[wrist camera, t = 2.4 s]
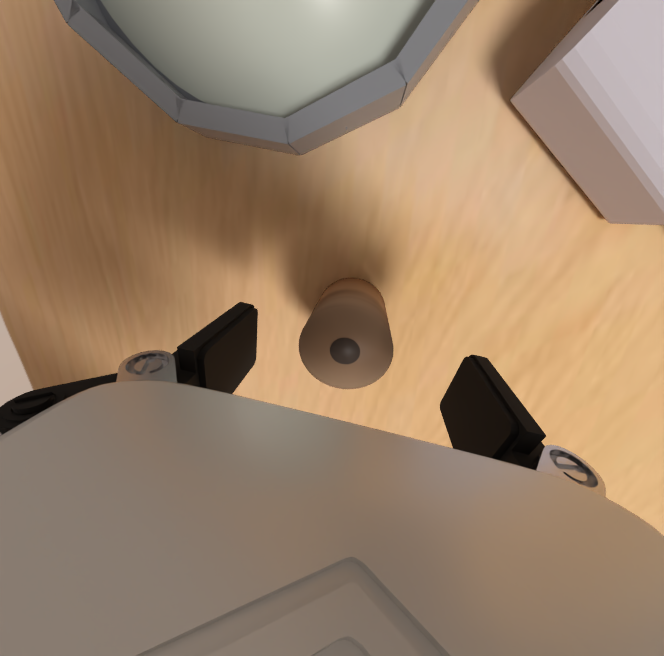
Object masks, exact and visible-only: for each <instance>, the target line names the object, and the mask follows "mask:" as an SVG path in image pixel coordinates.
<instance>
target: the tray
mask: <svg viewBox="0 0 664 656" xmlns="http://www.w3.org/2000/svg"><path fill="white" fill-rule="evenodd" d="M54 1H55V3H56V5H57V7H58V9H59V10H60V12H61V14H62V16H63V18H64V20H65V21H66V23H68V25H69V26H70V27H71V28H72V29H73V30H74V31H75V32H77V33H78V34H79V35H80V36H81V37H82V38H83V39H84V40H85V41H87V42H88V43H89V44H90V45H91V46H92V47H93V48H94V49H95V50H97V51H98V52H99V53H100V54H101V55H102V56H103V57H104V58H105V59H107V60H108V61H109V62H110V63H111V64H112V65H113V66H114V67H116V68H117V69H118V70H119V71H120V72H121V73H122V74H123V75H124V76H126V77H127V78H128V79H129V80H130V81H131V82H132V83H133V84H134V85H136V86H137V87H138V88H139V89H140V90H141V91H142V92H143V93H144V94H146V95H147V96H148V97H149V98H150V99H151V100H152V101H153V102H154V103H156V104H157V105H158V106H159V107H160V108H161V109H162V110H163V111H164V112H166V113H167V114H168V115H169V116H170V117H171V118H172V119H173V120H175V121H176V122H177V123H179V124H181V125H183V126H185V127H187V128H189V129H191V130H193V131H195V132H197V133H199V134H201V135H203V136H205V137H208V138H213V139H218V140H223V141H228V142H234V143H239V144H244V145H249V146H254V147H259V148H264V149H270V150H275V151H280V152H285V153H290V154H295V155H300V154H301V155H303V154H305V153H307V152H309V151H311V150H313V149H315V148H317V147H319V146H321V145H323V144H325V143H327V142H330V141H332V140H334V139H336V138H338V137H340V136H342V135H344V134H346V133H348V132H350V131H352V130H354V129H357V128H359V127H361V126H363V125H365V124H367V123H369V122H371V121H373V120H375V119H377V118H379V117H381V116H383V115H386V114H388V113H390V112H392V111H394V110H396V109H398V108H399V106H400V107H401V105H402V104H403V103H404V101H405V100H406V99H407V97H408V96H409V95H410V93H411V92H412V91H413V89H414V88H415V86H416V85H417V84H418V82H419V81H420V80H421V78H422V77H423V76H424V74H425V73H426V72H427V70H428V69H429V68H430V66H431V65H432V63H433V62H434V61H435V59H436V58H437V57H438V55H439V54H440V53H441V51H442V50H443V49H444V47H445V46H446V45H447V43H448V42H449V40H450V39H451V38H452V36H453V35H454V34H455V32H456V31H457V30H458V28H459V27H460V26H461V24H462V23H463V22H464V20H465V19H466V18H467V16H468V15H469V13H470V12H471V11H472V9H473V8H474V7H475V5H476V4H477V3H478V1H479V0H54Z"/></svg>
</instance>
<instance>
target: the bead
mask: <svg viewBox="0 0 664 656" xmlns="http://www.w3.org/2000/svg"><path fill="white" fill-rule="evenodd" d="M299 352H300V357H301V359H302V362H303V364H304V365H305V367H306V368H307V370H308V371H309V372H310V373H311V374H312V375H313V376H314V377H315V378H316V379H318V380H319V381H321V382H323V383H325V384H327V385H329V386H332V387H336V388H341V389H356V388H361V387H365V386H367V385H370V384H372V383H374V382H375V381H377V380H378V379H379V378H381V377H382V376H383V375H384V373H385V372H386V371H387V369H388V368H389V366H390V364H391V361H392V358H393V342H392V337H391V333H390V328H389V323H388V318H387V313H386V308H385V303H384V300H383V297H382V295H381V294H380V292H379V291H378V290H377V289H376V287H374V286H373V285H372V284H370V283H369V282H367V281H365V280H362V279H357V278H346V279H341V280H339V281H336V282H334V283H333V284H331V285H330V286H329V287H328V288H327V289H326V290H325V291H324V293H323V294H322V296H321V298H320V300H319V302H318V303H317V305H316V307H315V309H314V310H313V312H312V314H311V316H310V318H309V319H308V321H307V323H306V325H305V327H304V328H303V330H302V333H301V335H300V339H299Z"/></svg>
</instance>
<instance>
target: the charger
mask: <svg viewBox="0 0 664 656" xmlns="http://www.w3.org/2000/svg"><path fill="white" fill-rule="evenodd" d="M598 1H599V0H597V1H596V2H595V3H594V4H593V5H592V7H591V8H590V9H589V10H588V11H587V12H586V13H585V14H584V16H583V17H582V18H581V19H580V20H579V21H578V22H577V24H576V25H575V26H574V27H573V28H572V29H571V30H570V31H569V33H568V34H567V35H566V36H565V37H564V38H563V39H562V41H561V42H560V43H559V44H558V45H557V46H556V47H555V48H554V50H553V51H552V52H551V53H550V54H549V55H548V56H547V58H546V59H545V60H544V61H543V62H542V63H541V64H540V65H539V67H538V68H537V69H536V70H535V71H534V72H533V73H532V75H531V76H530V77H529V78H528V79H527V80H526V81H525V83H524V84H523V85H522V86H521V87H520V88H519V90H518V91H517V92H516V93H515V94H514V95H513V97H512V98H511V100H510V101H511V103H512V104H513V105H514V106H515V108H516V109H517V110H518V111H519V113H520V114H521V115H522V116H523V117H524V119H525V120H526V121H527V122H528V124H529V125H530V126H531V127H532V129H533V130H534V131H535V132H536V134H537V135H538V136H539V137H540V138H541V140H542V141H543V142H544V143H545V145H546V146H547V147H548V148H549V150H550V151H551V152H552V153H553V155H554V156H555V157H556V158H557V160H558V161H559V162H560V163H561V164H562V166H563V167H564V168H565V169H566V171H567V172H568V173H569V174H570V176H571V177H572V178H573V179H574V181H575V182H576V183H577V184H578V185H579V187H580V188H581V189H582V190H583V192H584V193H585V194H586V195H587V197H588V198H589V199H590V200H591V202H592V203H593V204H594V205H595V207H596V208H597V209H598V210H599V211H600V213H601V214H602V215H603V216H604V218H605V219H606V220H607V221H608V222H609V223H615V224H647V225H664V0H603V1H602V2H601V3H599V4H598V5H597V6H596V7H595V8H594V9H593V10H592V11H591V12H590V13H588V12H589V11H590V10H591V9H592V8H593V6H594V5H595V4H596V3H597V2H598ZM587 13H588V14H587ZM586 14H587V15H586ZM585 15H586V16H585Z"/></svg>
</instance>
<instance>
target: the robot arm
mask: <svg viewBox="0 0 664 656" xmlns="http://www.w3.org/2000/svg"><path fill="white" fill-rule="evenodd" d="M257 316H258V311H257V309H255V308H254V306H253V305H251V304H247V303H243V302H239V303H238V304H236V305H235V306H234V307H232V308H231V309H229V310H228V311H227V312H225V313H224V314H223V315H221V316H220V317H218V318H217V319H216V320H214V321H213V322H211V323H210V324H209V325H207V326H206V327H204V328H203V329H202V330H200V331H199V332H198V333H196V334H195V335H193V336H192V337H191V338H189V339H188V340H186V341H185V342H184V343H182V344H181V345H179V346H178V347H177V351H176V352H174V353H173V354H170V353H169V352H165V351H159V350H154V351H145V352H140V353H138V354H135V355H132V356H130V357H129V358H127V359H125V360H124V361H123V362H122V363H121V364H120V366H119V369H118V373H116V374H111V375H106V376H101V377H96V378H91V379H86V380H81V381H76V382H71V383H67V384H62V385H57V386H52V387H47V388H42V389H38V390H33V391H30V392H27V393H24V394H22V395H20V396H18V397H16V398H14V399H12V400H10V401H8V402H7V403H5V404H4V405H2V406H1V407H0V656H664V536H663V535H662V534H661V533H660V532H659V531H657V530H656V529H655V528H654V527H653V526H651V525H650V524H649V523H647V522H646V521H644V520H643V519H641V518H640V517H638V516H636V515H635V514H633V513H632V512H630V511H628V510H627V509H625V508H623V507H622V506H620V505H618V504H617V503H615V502H613V501H611V500H609V499H607V498H606V497H605V496H606V488H605V484H604V482H603V480H602V478H601V477H600V475H599V474H598V473H597V472H596V471H595V470H594V469H593V468H592V467H591V466H590V465H589V464H588V463H587V462H585V461H584V460H583V459H581V458H580V457H578V456H577V455H576V454H574V453H572V452H570V451H568V450H566V449H564V448H561V447H559V446H554V445H547V446H544V445H543V444H542V442H541V441H542V440H543V439H544V438H545V437H546V435H545V433H544V432H543V431H542V429H541V428H540V427H539V426H538V424H537V423H536V422H535V420H534V419H533V418H532V416H531V415H530V414H529V412H528V411H527V410H526V408H525V407H524V406H523V405H522V403H521V402H520V401H519V399H518V398H517V397H516V395H515V394H514V393H513V391H512V390H511V389H510V387H509V386H508V385H507V383H506V382H505V381H504V380H503V378H502V377H501V376H500V374H499V373H498V372H497V370H496V369H495V368H494V366H493V365H492V364H491V362H490V361H489V360H488V359H487V358H485V357H481V356H477V355H470V356H469V357H465V358H464V359H463V361H462V363H461V365H460V367H459V369H458V371H457V372H456V374H455V376H454V378H453V380H452V382H451V384H450V386H449V388H448V389H447V391H446V393H445V395H444V397H443V399H442V401H441V403H440V410H441V413H442V416H443V419H444V422H445V425H446V428H447V431H448V434H449V437H450V440H451V443H452V446H453V448H449V447H445V446H441V445H437V444H433V443H429V442H425V441H421V440H417V439H413V438H409V437H405V436H402V435H398V434H394V433H390V432H386V431H381V430H377V429H373V428H369V427H365V426H361V425H357V424H353V423H349V422H345V421H341V420H337V419H333V418H329V417H325V416H321V415H316V414H312V413H308V412H304V411H300V410H296V409H292V408H288V407H283V406H279V405H275V404H271V403H267V402H263V401H258V400H254V399H250V398H246V397H242V396H238V395H234V394H232V393H233V392H234V391H235V389H236V388H237V387H238V385H239V384H240V383H241V381H242V380H243V379H244V377H245V376H246V375H247V373H248V372H249V371H250V369H251V368H252V367H253V365H254V363H255V361H256V347H257Z"/></svg>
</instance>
